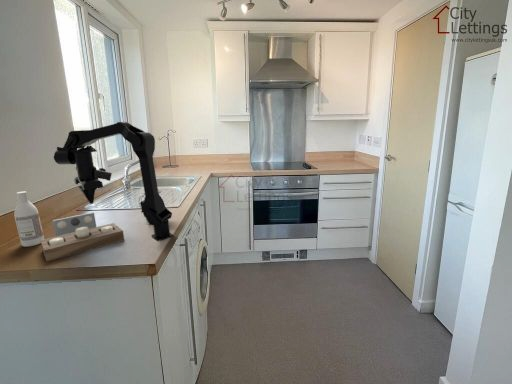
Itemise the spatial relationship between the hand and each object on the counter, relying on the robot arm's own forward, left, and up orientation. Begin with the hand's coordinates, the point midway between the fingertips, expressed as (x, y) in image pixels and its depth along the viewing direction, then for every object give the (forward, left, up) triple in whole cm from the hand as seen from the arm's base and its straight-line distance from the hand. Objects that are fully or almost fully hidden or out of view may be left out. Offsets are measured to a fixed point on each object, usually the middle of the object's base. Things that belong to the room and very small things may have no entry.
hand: (91, 203), depth 109 cm
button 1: (-9, +14, -12) cm, 21 cm away
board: (-9, +6, -13) cm, 17 cm away
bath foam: (+8, +20, -13) cm, 25 cm away
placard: (+5, +6, -13) cm, 15 cm away
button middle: (-9, +6, -10) cm, 15 cm away
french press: (-1, -23, -13) cm, 27 cm away
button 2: (-9, -2, -12) cm, 15 cm away
